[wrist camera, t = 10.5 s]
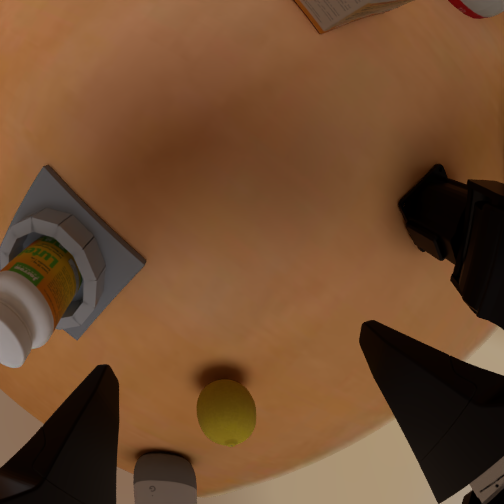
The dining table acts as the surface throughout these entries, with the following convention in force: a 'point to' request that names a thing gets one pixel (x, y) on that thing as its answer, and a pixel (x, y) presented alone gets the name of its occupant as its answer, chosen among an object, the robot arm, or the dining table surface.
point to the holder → (73, 246)
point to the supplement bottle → (34, 297)
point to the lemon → (226, 412)
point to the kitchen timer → (479, 7)
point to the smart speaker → (164, 480)
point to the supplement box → (343, 11)
